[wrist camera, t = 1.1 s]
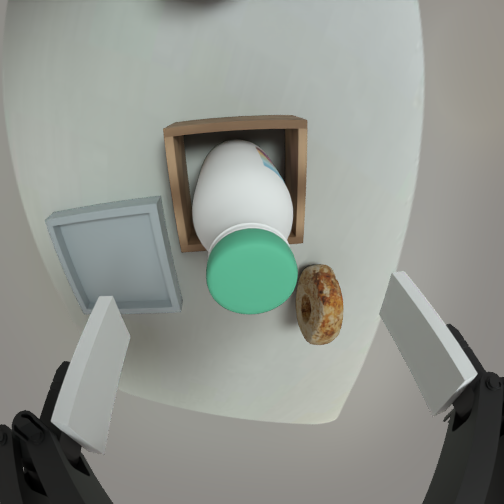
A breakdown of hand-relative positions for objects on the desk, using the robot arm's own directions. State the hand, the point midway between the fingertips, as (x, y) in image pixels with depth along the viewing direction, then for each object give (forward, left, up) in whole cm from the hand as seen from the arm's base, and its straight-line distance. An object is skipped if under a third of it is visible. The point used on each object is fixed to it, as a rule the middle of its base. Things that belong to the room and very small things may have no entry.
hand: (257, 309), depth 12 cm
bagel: (+16, +9, -22) cm, 29 cm away
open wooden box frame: (0, 0, -22) cm, 22 cm away
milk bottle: (0, 0, -22) cm, 22 cm away
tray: (+10, -17, -22) cm, 29 cm away
